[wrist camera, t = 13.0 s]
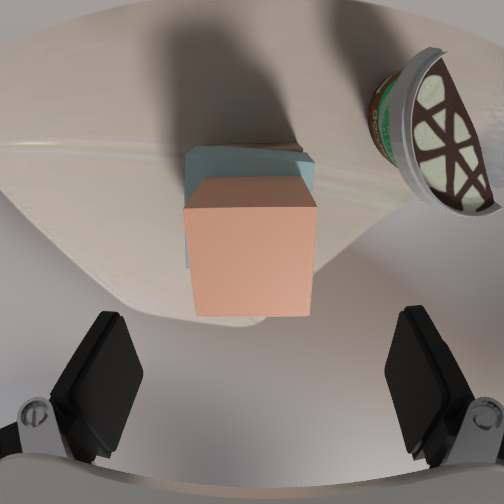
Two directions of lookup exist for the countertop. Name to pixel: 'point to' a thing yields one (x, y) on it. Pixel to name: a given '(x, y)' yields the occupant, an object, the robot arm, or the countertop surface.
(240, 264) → the terracotta cube
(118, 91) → the countertop surface
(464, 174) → the food container
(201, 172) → the tower top block
